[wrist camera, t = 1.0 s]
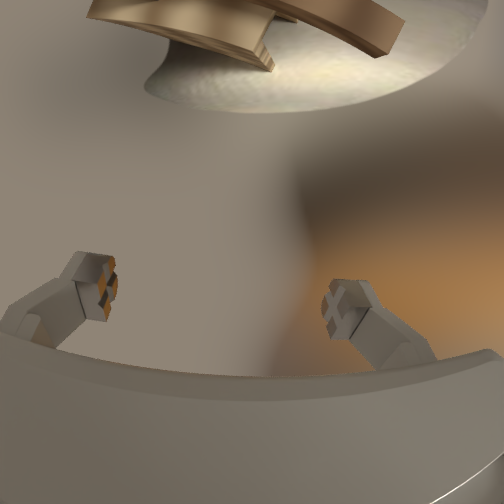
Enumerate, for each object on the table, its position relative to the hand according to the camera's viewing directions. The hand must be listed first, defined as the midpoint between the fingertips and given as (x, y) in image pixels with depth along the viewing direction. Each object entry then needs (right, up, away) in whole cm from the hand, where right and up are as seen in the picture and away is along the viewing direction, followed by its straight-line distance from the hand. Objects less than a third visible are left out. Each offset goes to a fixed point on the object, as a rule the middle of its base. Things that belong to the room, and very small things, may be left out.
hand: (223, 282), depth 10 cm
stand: (-2, +39, +25) cm, 47 cm away
